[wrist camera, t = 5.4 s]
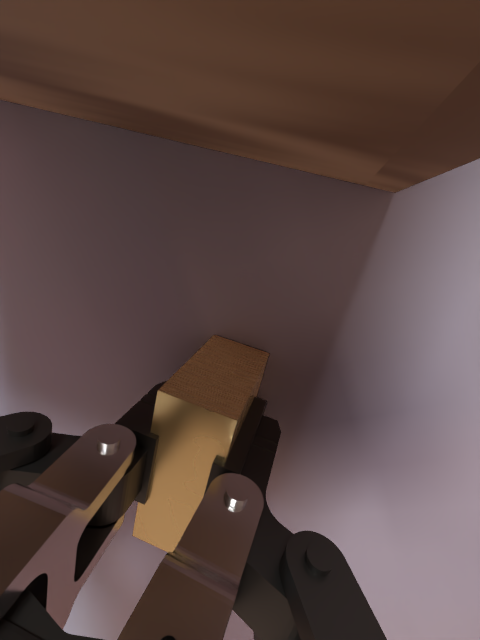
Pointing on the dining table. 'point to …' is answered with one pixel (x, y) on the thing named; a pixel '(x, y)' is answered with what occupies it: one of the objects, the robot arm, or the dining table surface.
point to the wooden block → (196, 433)
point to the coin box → (263, 78)
